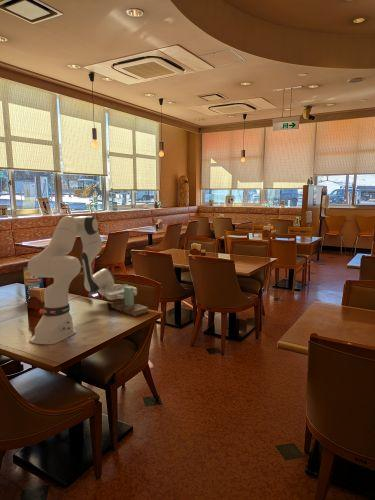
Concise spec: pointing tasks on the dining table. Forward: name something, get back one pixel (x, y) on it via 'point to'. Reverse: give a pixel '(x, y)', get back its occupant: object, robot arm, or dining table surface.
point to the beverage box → (31, 281)
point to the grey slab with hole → (130, 308)
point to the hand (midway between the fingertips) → (129, 295)
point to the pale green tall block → (129, 296)
